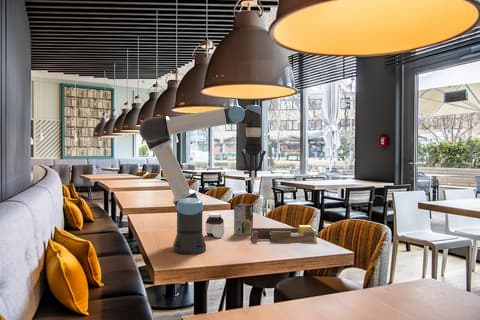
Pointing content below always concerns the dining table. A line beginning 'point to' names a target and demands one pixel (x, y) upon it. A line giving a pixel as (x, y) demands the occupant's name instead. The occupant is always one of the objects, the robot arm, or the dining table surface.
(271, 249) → the dining table surface
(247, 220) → the coffee box
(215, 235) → the spread jar
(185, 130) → the robot arm
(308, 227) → the block
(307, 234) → the box
